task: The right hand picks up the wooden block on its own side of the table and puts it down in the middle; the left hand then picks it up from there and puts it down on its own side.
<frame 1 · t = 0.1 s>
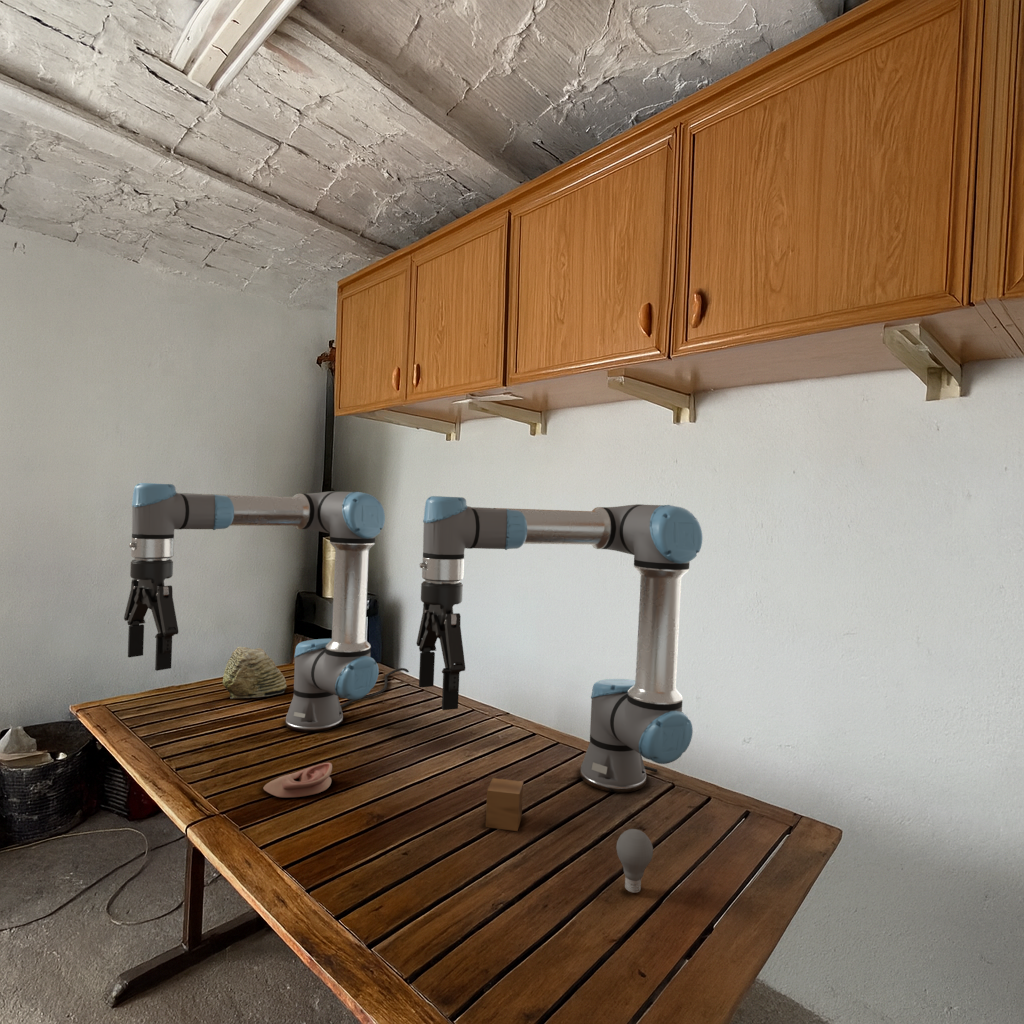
left hand: (148, 662, 129), 28 cm above the table, tool pointing down, fingers open, 13 cm apart
right hand: (437, 697, 115), 28 cm above the table, tool pointing down, fingers open, 13 cm apart
fossil: (254, 694, 198), on the table
block: (503, 822, 127), on the table
light bulb: (632, 891, 106), on the table
anatomical model: (298, 787, 138), on the table
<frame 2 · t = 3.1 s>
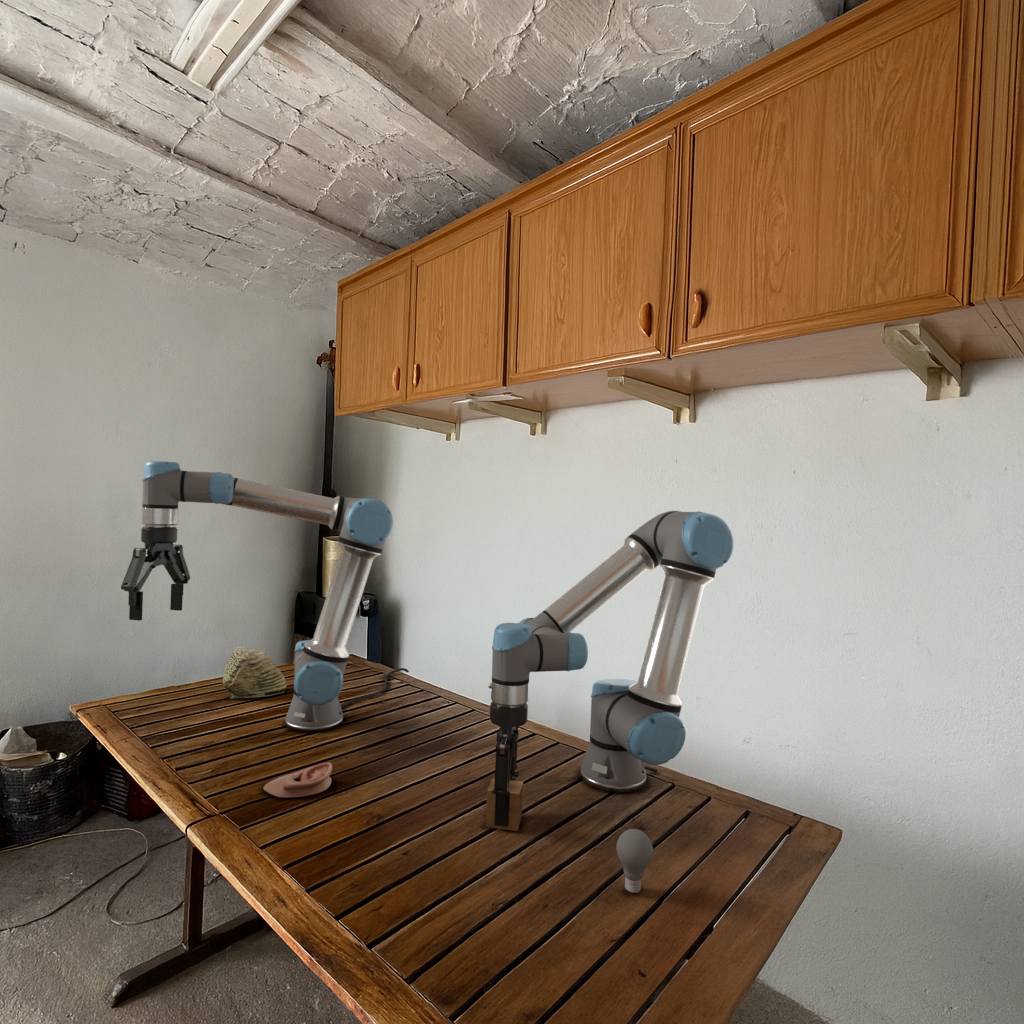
left hand: (156, 614, 151), 33 cm above the table, tool pointing down, fingers open, 13 cm apart
right hand: (504, 816, 127), 1 cm above the table, tool pointing down, fingers closed on block, 6 cm apart
block: (503, 822, 127), on the table, touching right hand
everything else where it was.
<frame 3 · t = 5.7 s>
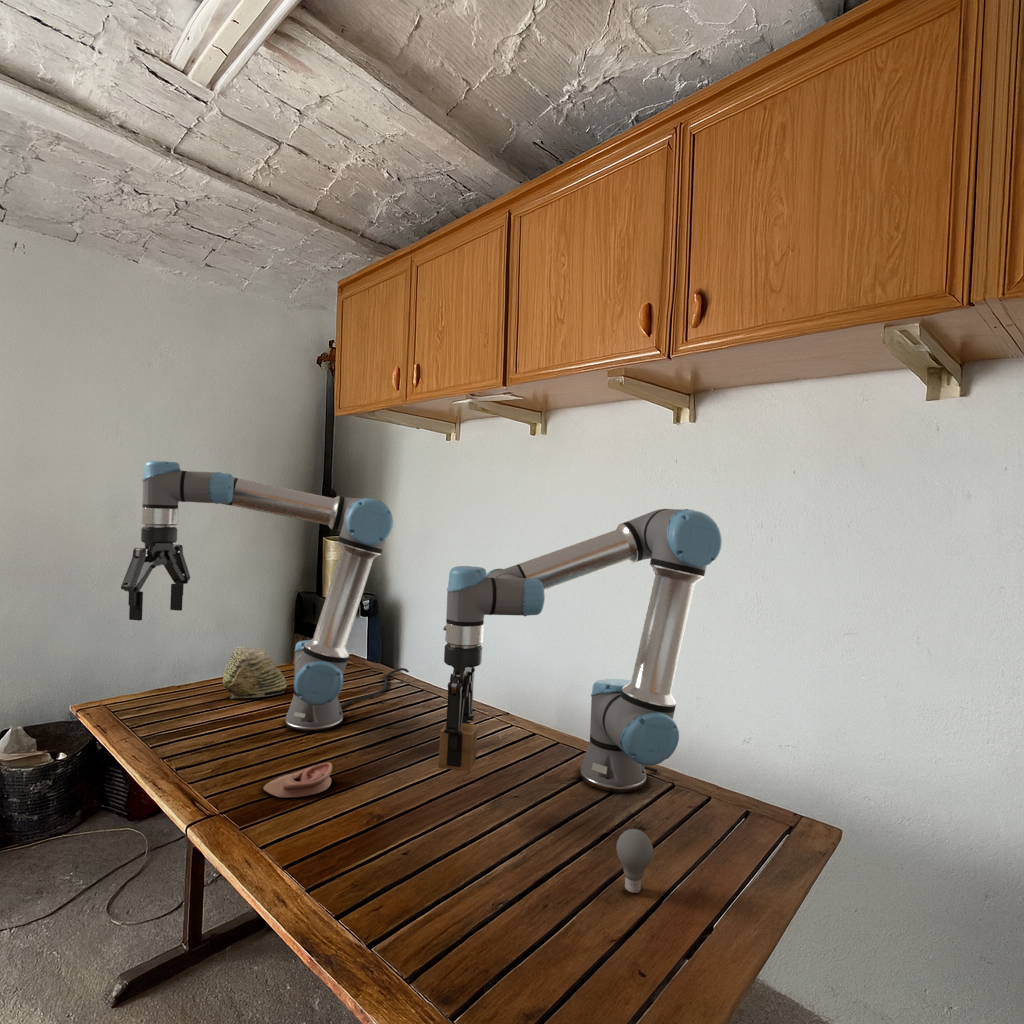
left hand: (156, 614, 151), 33 cm above the table, tool pointing down, fingers open, 13 cm apart
right hand: (457, 758, 127), 12 cm above the table, tool pointing down, fingers closed on block, 6 cm apart
block: (457, 764, 127), point 11 cm above the table, touching right hand
everything else where it was.
when the right hand's fingers open (2 cm above the table, at t = 8.5 s): block drops 1 cm, on the table.
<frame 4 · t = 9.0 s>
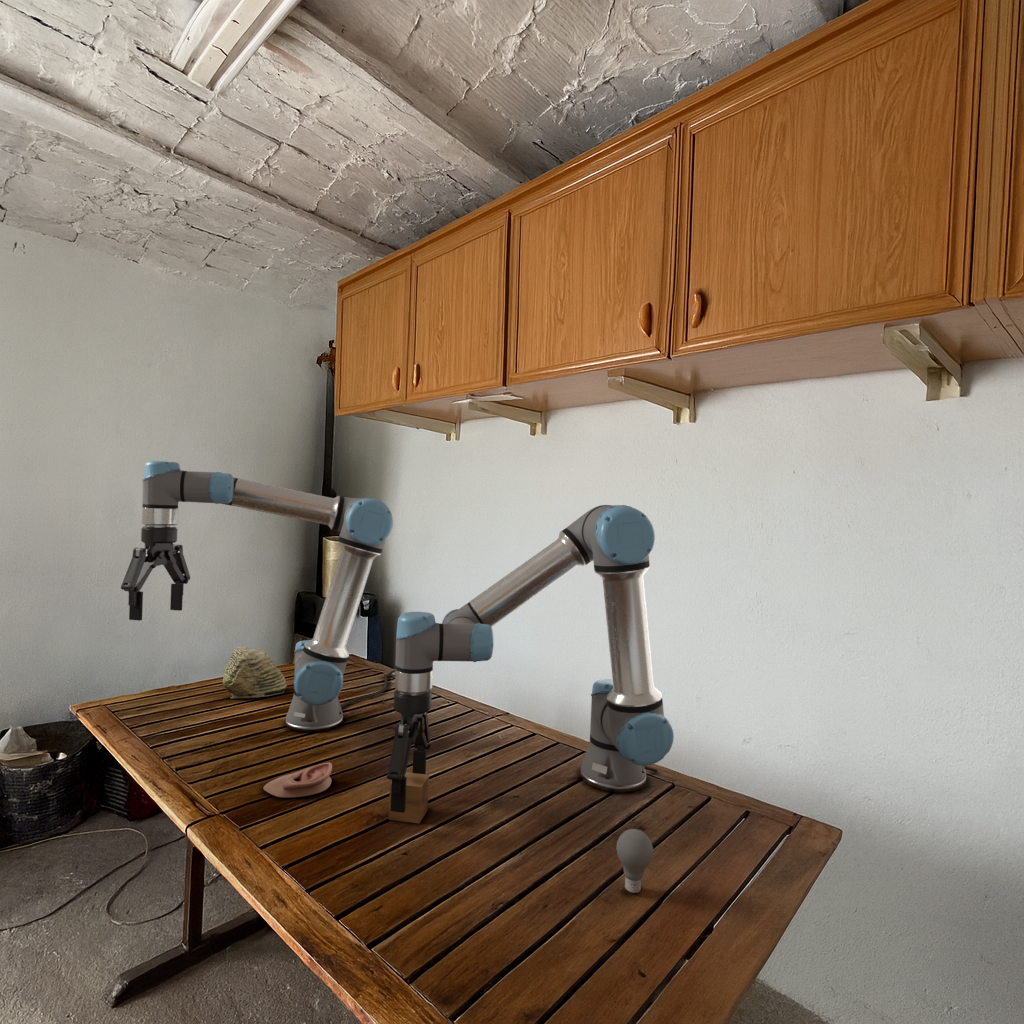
left hand: (156, 614, 151), 33 cm above the table, tool pointing down, fingers open, 13 cm apart
right hand: (408, 795, 128), 4 cm above the table, tool pointing down, fingers open, 12 cm apart
block: (408, 814, 128), on the table
everything else where it was.
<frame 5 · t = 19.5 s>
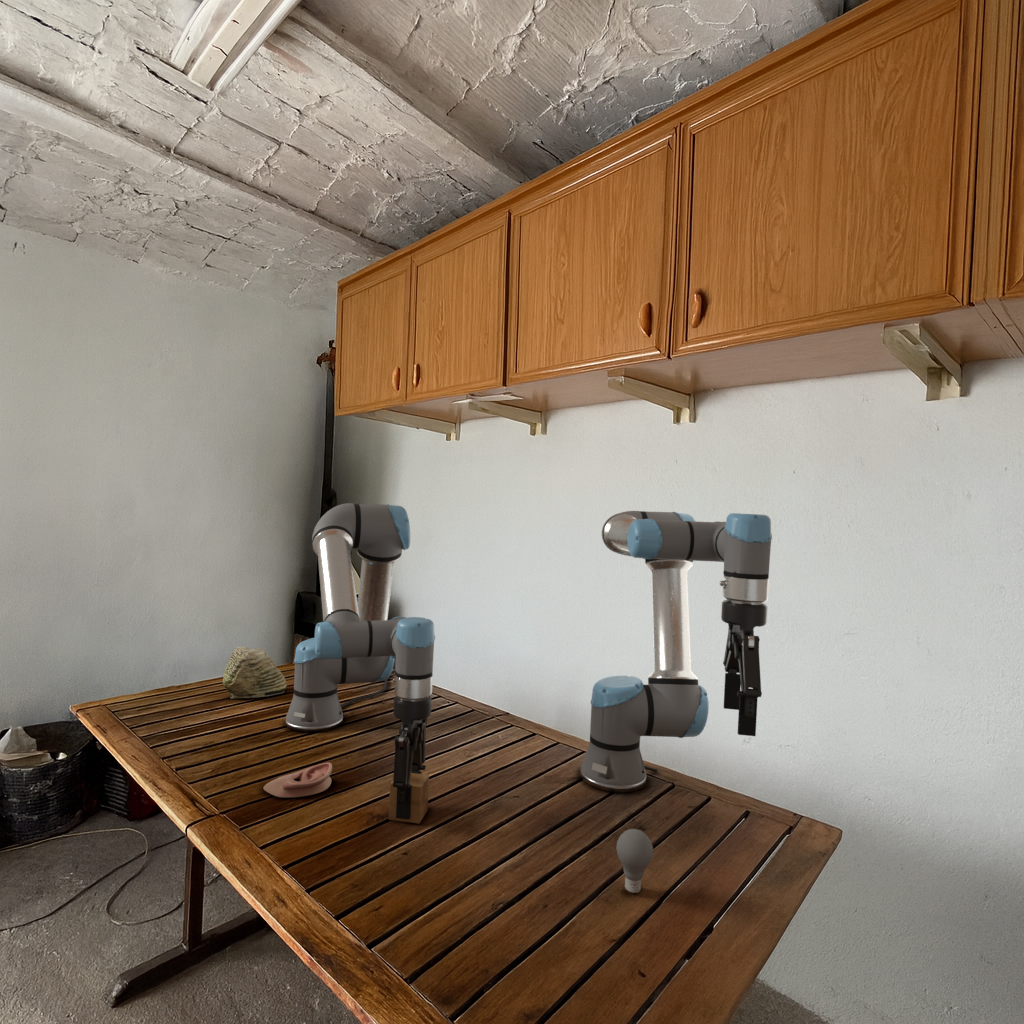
left hand: (408, 809, 128), 1 cm above the table, tool pointing down, fingers closed on block, 6 cm apart
right hand: (738, 721, 112), 27 cm above the table, tool pointing down, fingers open, 13 cm apart
block: (408, 814, 128), on the table, touching left hand
everything else where it was.
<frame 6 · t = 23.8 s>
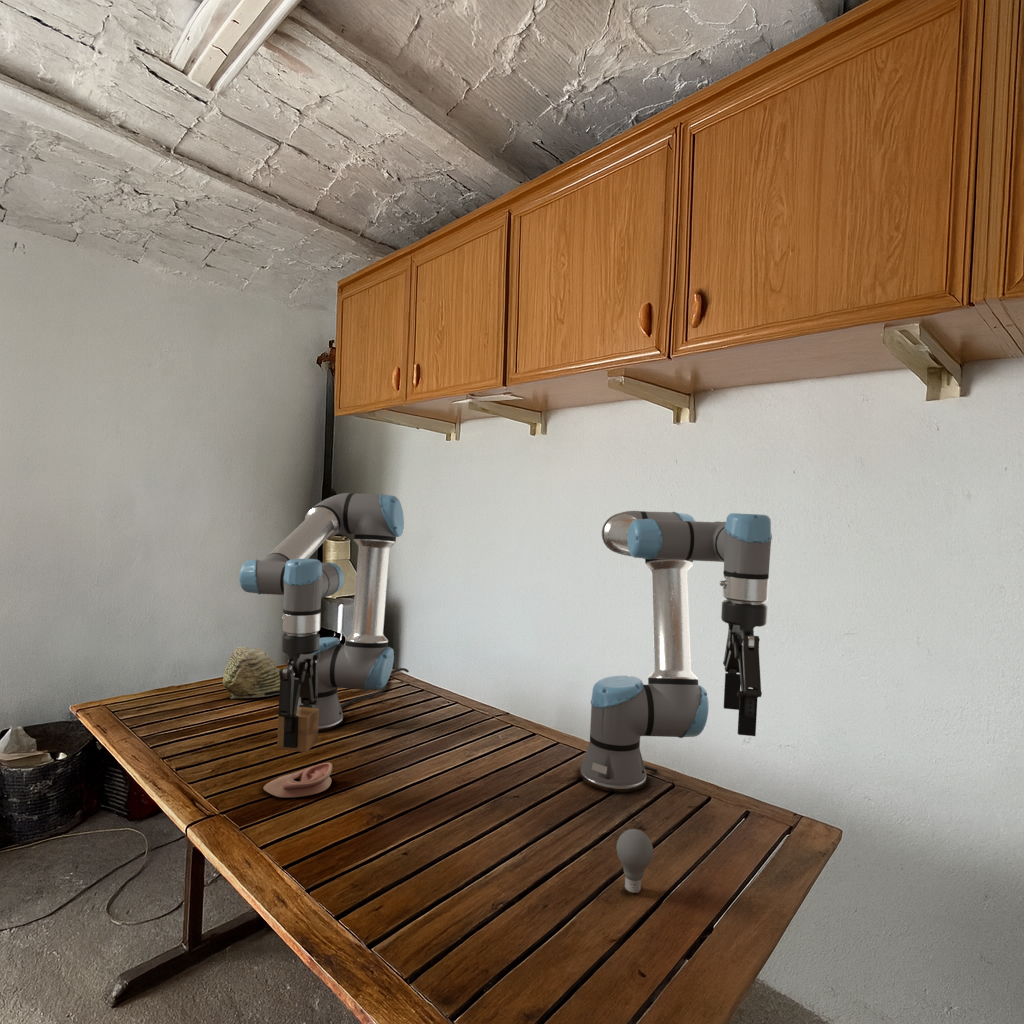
left hand: (297, 740, 134), 11 cm above the table, tool pointing down, fingers closed on block, 6 cm apart
right hand: (738, 721, 112), 27 cm above the table, tool pointing down, fingers open, 13 cm apart
block: (297, 745, 134), point 10 cm above the table, touching left hand
everything else where it was.
when the left hand's fingers open (2 cm above the table, at t = 28.0 s): block drops 1 cm, on the table.
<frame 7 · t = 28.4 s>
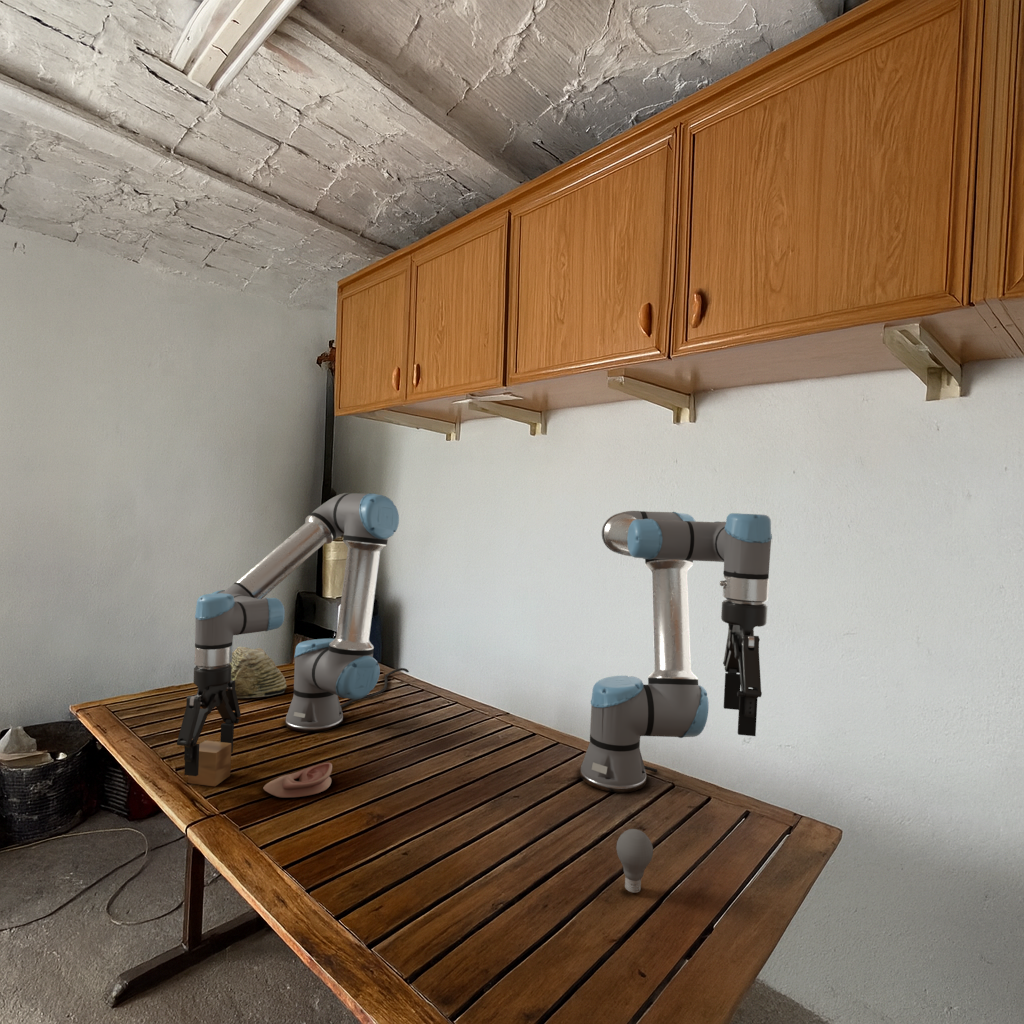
left hand: (209, 763, 139), 4 cm above the table, tool pointing down, fingers open, 11 cm apart
right hand: (738, 721, 112), 27 cm above the table, tool pointing down, fingers open, 13 cm apart
block: (209, 779, 140), on the table
everything else where it was.
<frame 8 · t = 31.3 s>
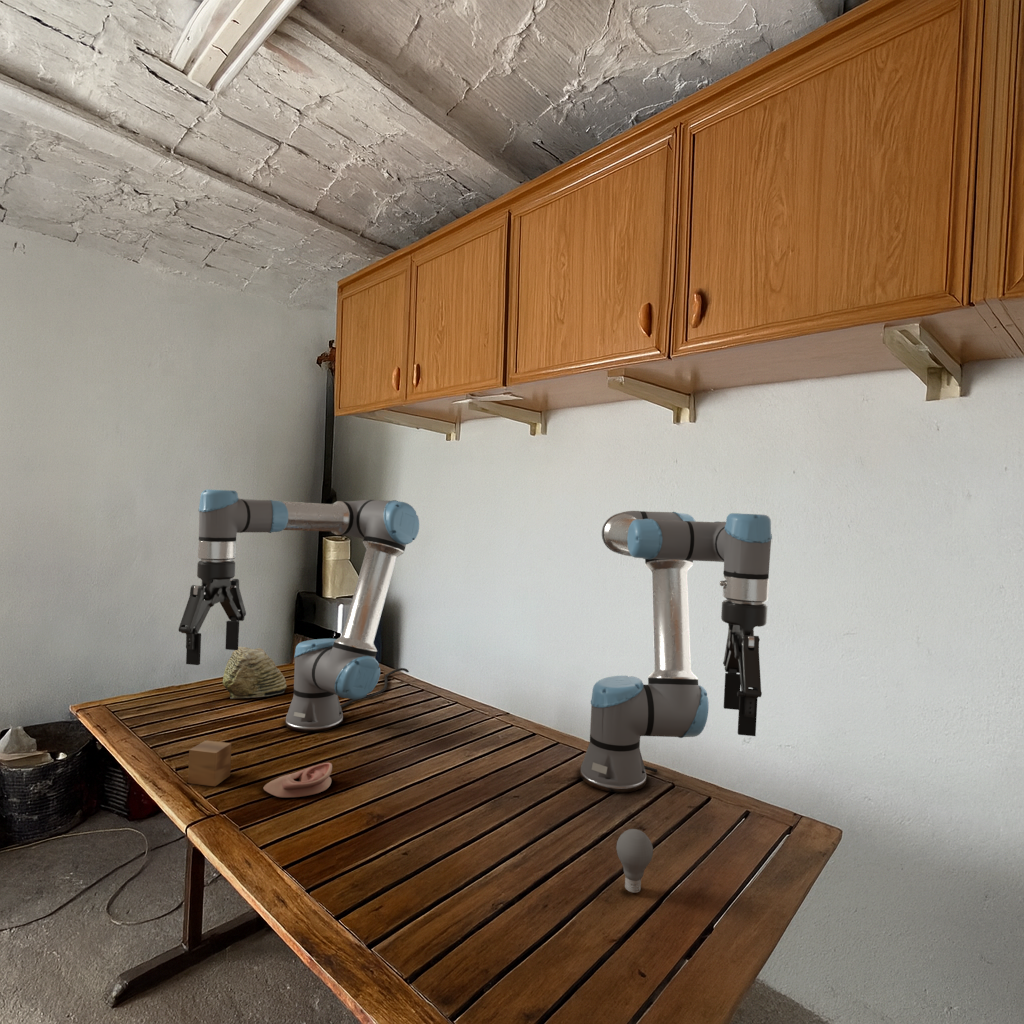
left hand: (213, 656, 139), 27 cm above the table, tool pointing down, fingers open, 13 cm apart
right hand: (738, 721, 112), 27 cm above the table, tool pointing down, fingers open, 13 cm apart
nothing on the table moved.
at the end: block inside the target area (0.1 cm from its centre), on the table; block tilted 0°; the two hands never held the block at the same time; the left hand is holding nothing; the right hand is holding nothing; block at rest at the end (0.0 cm/s) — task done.
